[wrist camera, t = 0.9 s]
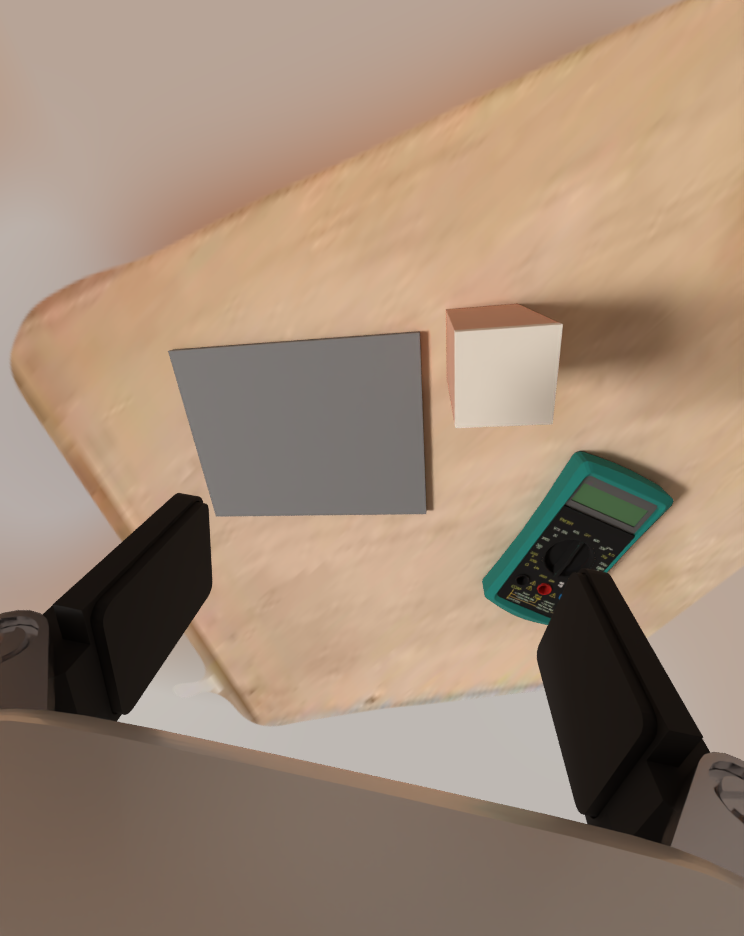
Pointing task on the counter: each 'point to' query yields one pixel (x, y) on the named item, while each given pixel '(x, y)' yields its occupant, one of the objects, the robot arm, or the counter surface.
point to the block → (501, 365)
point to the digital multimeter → (574, 534)
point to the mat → (308, 425)
